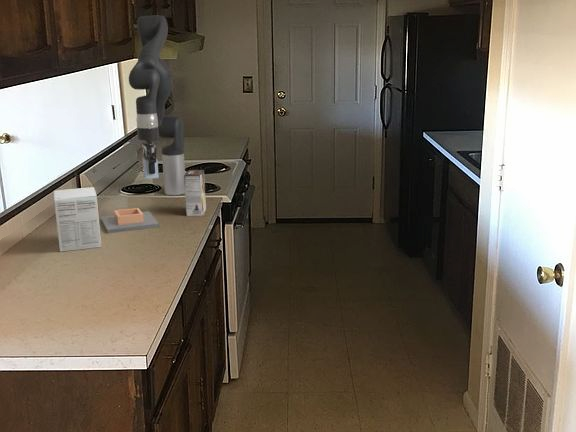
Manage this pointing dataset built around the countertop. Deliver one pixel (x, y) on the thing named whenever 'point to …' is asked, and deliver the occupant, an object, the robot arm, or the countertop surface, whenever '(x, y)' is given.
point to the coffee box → (195, 192)
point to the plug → (146, 168)
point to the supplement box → (77, 219)
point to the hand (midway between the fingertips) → (150, 172)
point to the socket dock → (128, 220)
